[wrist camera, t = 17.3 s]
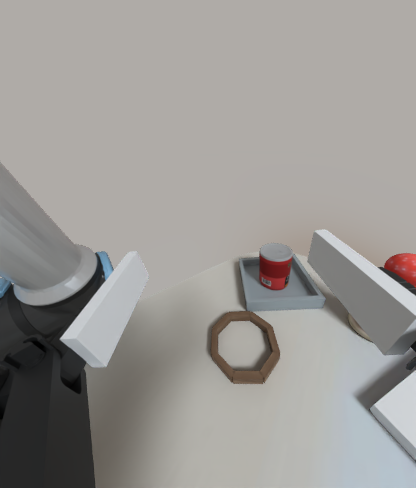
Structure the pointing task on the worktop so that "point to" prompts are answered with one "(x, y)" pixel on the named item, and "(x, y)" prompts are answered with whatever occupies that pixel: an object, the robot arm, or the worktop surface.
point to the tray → (290, 298)
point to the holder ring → (245, 376)
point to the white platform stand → (400, 413)
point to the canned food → (275, 266)
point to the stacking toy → (405, 266)
